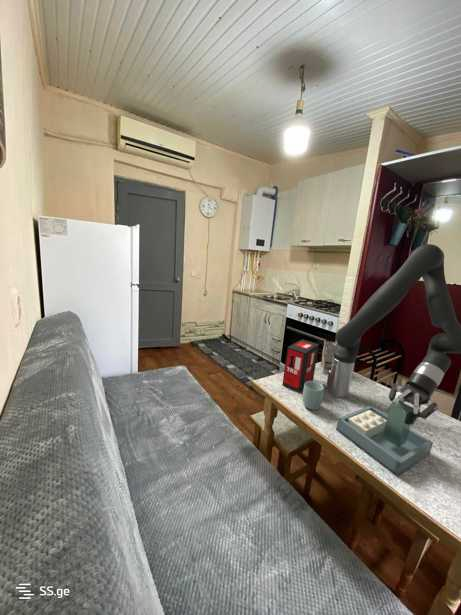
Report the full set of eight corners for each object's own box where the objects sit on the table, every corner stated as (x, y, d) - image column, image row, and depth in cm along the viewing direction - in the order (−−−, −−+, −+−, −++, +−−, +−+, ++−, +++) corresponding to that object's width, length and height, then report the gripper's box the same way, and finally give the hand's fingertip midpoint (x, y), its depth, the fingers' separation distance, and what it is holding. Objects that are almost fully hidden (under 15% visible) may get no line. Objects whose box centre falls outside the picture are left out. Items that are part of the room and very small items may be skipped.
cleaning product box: (299, 393, 118) (305, 353, 113) (282, 385, 123) (287, 347, 118) (312, 380, 130) (319, 344, 126) (296, 374, 136) (302, 339, 131)
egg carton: (346, 427, 95) (349, 415, 94) (367, 418, 101) (370, 407, 100) (363, 440, 89) (366, 427, 88) (384, 430, 95) (388, 417, 94)
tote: (335, 429, 95) (338, 418, 94) (368, 416, 104) (370, 405, 103) (396, 476, 76) (400, 463, 75) (429, 454, 86) (433, 442, 85)
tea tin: (382, 437, 87) (390, 403, 84) (390, 432, 90) (398, 400, 87) (397, 447, 83) (406, 412, 80) (405, 442, 85) (415, 408, 82)
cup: (311, 414, 103) (315, 392, 100) (297, 404, 109) (300, 383, 107) (324, 409, 107) (328, 388, 104) (309, 399, 113) (313, 379, 111)
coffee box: (334, 375, 138) (339, 347, 134) (322, 373, 139) (327, 346, 135) (331, 368, 146) (336, 341, 143) (320, 366, 148) (324, 340, 144)
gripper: (400, 364, 91) (374, 401, 88) (449, 383, 79) (420, 427, 76) (405, 375, 95) (380, 411, 92) (452, 395, 83) (424, 437, 80)
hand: (398, 418), depth 84 cm, fingers closed on tea tin, 5 cm apart
